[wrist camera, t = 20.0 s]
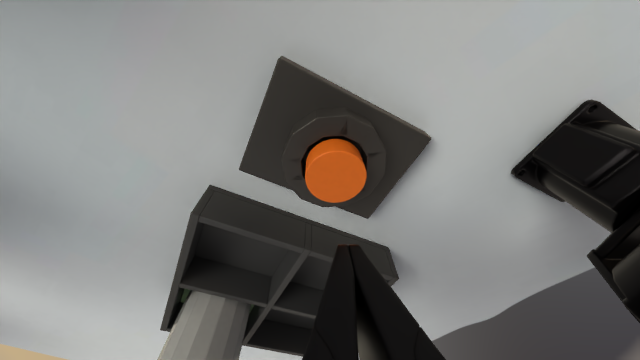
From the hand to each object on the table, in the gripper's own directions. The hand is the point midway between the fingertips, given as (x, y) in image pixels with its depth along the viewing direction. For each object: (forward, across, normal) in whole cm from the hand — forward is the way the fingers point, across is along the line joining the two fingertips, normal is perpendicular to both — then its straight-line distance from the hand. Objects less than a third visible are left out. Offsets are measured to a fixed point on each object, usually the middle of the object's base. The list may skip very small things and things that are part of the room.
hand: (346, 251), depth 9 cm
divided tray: (+10, +5, +15) cm, 19 cm away
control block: (+10, 0, 0) cm, 10 cm away
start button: (+7, 0, 0) cm, 7 cm away
